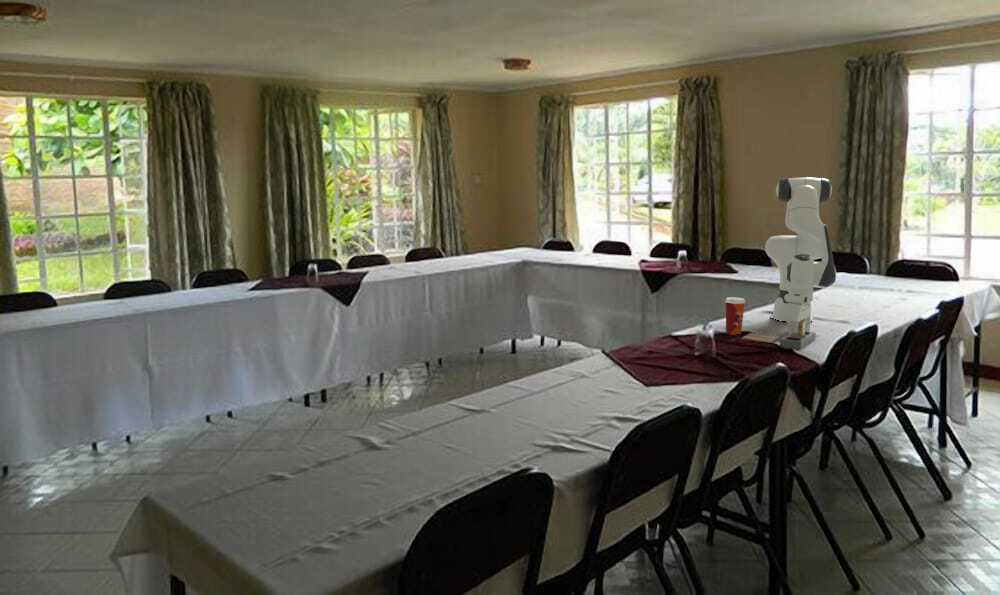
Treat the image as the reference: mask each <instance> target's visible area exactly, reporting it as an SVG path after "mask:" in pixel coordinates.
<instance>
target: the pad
mask: <svg viewBox="0 0 1000 595" xmlns="http://www.w3.org/2000/svg"><path fill="white" fill-rule="evenodd" d="M740 338H741V339H740V340H741V341H743V340H744V341H743V342H751V341H756V342H755V343H758V342H767V343H772V344H775V343H776V342H777V341H780V339H781V336H779V335H770V334H763V333H754V332H750V333H748V334H745V335H744V336H743V337H740Z"/></svg>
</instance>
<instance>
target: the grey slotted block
mask: <svg viewBox="0 0 1000 595" xmlns="http://www.w3.org/2000/svg"><path fill="white" fill-rule="evenodd" d="M816 336H817V335H816V332H814V331H810V332H807V331H805V337H803V338H801V337H793V336H792V333H790V334H789V333H787V335H785V336H784V337H780V339H779V344H778V345H779V346H782V347H781V348H784V347H788V348H787V349H792V348H793V350H800V351H801V350H802V349H804V348H805V347H807V346H808V345H809V344H811V343H813V342H814V341H816Z"/></svg>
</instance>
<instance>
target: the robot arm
mask: <svg viewBox="0 0 1000 595" xmlns="http://www.w3.org/2000/svg"><path fill="white" fill-rule="evenodd" d="M832 193H833V187H832V184H831V181H830V180H829V179H827V178H824V177H820V178H818V177H808V176H806V177H791V178H789V177H784V178H780V179H779V180H778V183H777V184H776V188H775V195H776V197H777V201H779V202H782V203H786V210H785V219H784V224H785V226H786V227H787V229H788V230H790V231H792V232H794V233H796V234H797V235H787V234H786V235H783V234H782V235H781V234H780V235H773V236H770V237H769V238H768V239H767V240H766V242H765V246H764V250H765V254H766V255H767V256H768V258H770V259H771V260H772V261H774V263H775V264H776V266H777V268H778V270H779V289H778V292H777V294H778V296H777V297H778V298H777V299H776V300H774V303H773V304H774V305H773V314H771V315H769V318H770V317H772V318H774V319H773V320H775V319H776V320H775V321H777V320H779V321H778V322H782V321H786V322H785V323H787V319H788V321H789V322H792V327H793V332H795V333H797V332H798V322H799V321H806V317H808V316H810V313H811V316H810V323H812V322H813V321H812V320H814V315H812V312H811V309H812V302H813V300H814V286H816V287H821V288H822V287H823V288H829V287H831V285H833V284H834V283H835V282H836V279H837V269H836V266H835V263H834V257H833V251H832V244H831V238H830V234H829V229H828V226H827V224H825V223H824V222H823V221H822V220H821V218H820V204H823V203H827V202H828V201H829V200H830V198H831V196H832ZM818 259H819V260H820V259H821V261H815V260H818ZM772 318H771V319H772ZM811 321H812V322H811Z"/></svg>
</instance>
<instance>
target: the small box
mask: <svg viewBox="0 0 1000 595" xmlns="http://www.w3.org/2000/svg"><path fill="white" fill-rule="evenodd" d="M811 315H812V312H811V313H810V316H811ZM810 316H808V317H806V325H805V331H807V332H811V331H810V330H811V329H810V327H811V322H810ZM787 332H788V333H787ZM786 333H787V334H790V333H792V322H789V321H788V319H787V322H786Z"/></svg>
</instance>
